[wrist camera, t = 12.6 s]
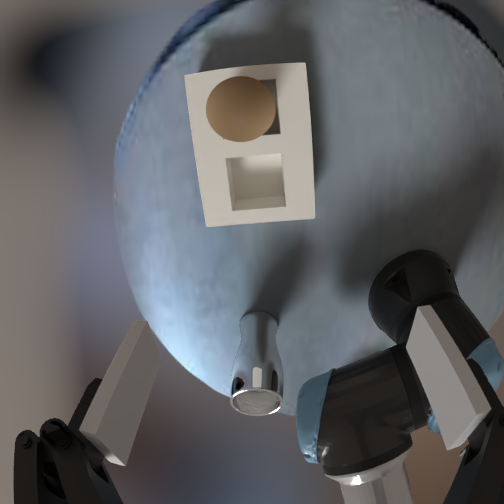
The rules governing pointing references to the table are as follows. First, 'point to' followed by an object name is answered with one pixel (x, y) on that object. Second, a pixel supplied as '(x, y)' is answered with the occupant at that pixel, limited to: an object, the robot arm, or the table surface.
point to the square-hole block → (255, 151)
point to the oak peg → (240, 109)
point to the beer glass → (257, 367)
